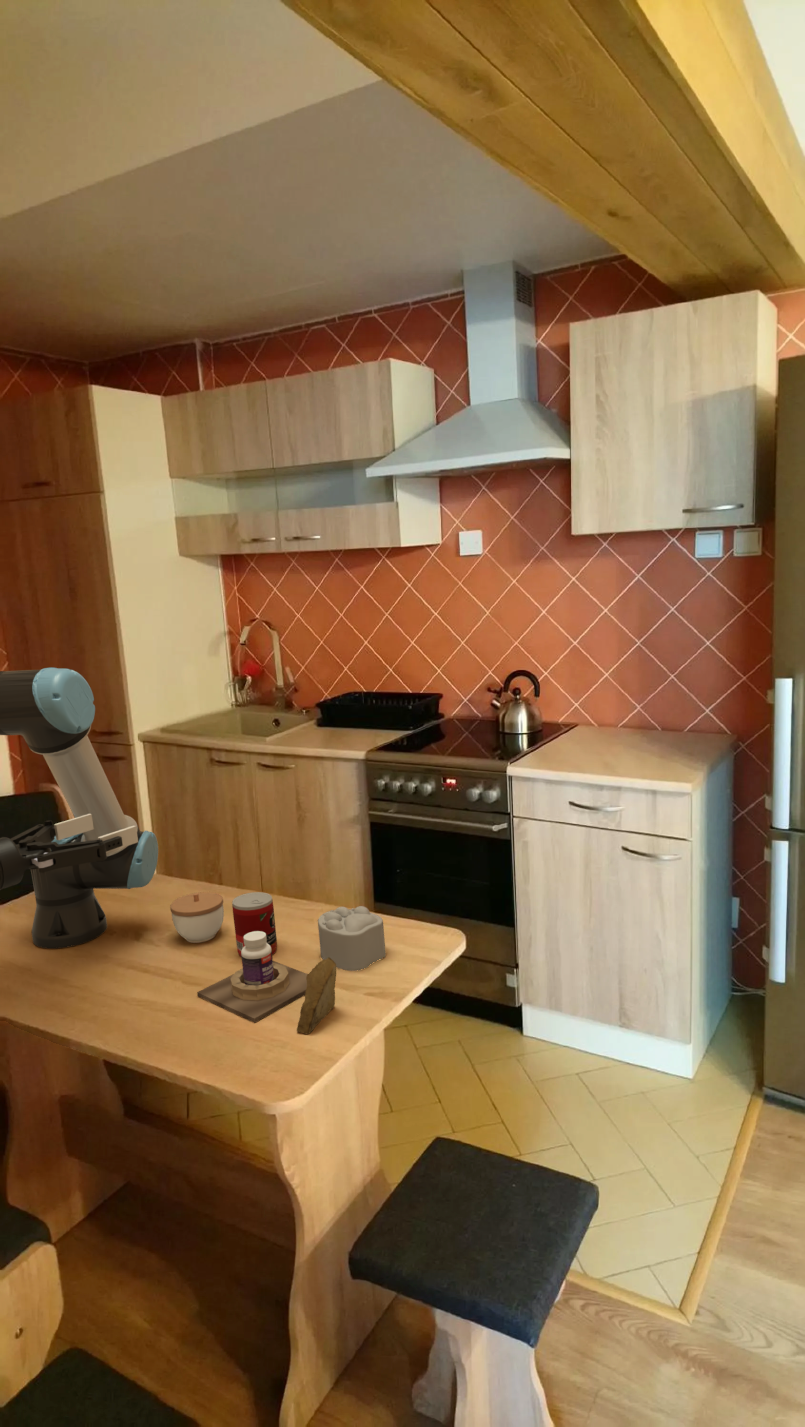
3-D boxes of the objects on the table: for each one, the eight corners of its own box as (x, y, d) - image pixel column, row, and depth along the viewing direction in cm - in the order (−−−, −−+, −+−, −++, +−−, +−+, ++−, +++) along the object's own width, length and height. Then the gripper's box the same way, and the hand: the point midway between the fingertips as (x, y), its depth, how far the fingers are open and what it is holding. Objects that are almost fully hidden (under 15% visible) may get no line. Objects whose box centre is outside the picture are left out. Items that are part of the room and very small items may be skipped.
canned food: (270, 961, 171) (264, 907, 169) (231, 960, 173) (225, 906, 171) (283, 943, 178) (278, 891, 176) (245, 942, 180) (240, 891, 178)
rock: (312, 1031, 140) (359, 998, 147) (284, 983, 142) (331, 953, 148) (288, 1046, 148) (333, 1015, 155) (262, 1001, 150) (307, 972, 156)
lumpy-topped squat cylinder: (354, 974, 163) (350, 930, 162) (307, 956, 172) (303, 914, 170) (392, 953, 171) (389, 911, 169) (346, 937, 179) (342, 896, 178)
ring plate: (197, 996, 159) (195, 981, 158) (266, 961, 171) (264, 948, 170) (254, 1022, 148) (253, 1007, 148) (323, 984, 160) (322, 969, 160)
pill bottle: (269, 993, 156) (264, 942, 155) (240, 993, 157) (234, 942, 155) (278, 979, 162) (273, 929, 160) (250, 978, 162) (245, 929, 161)
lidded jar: (209, 949, 178) (204, 905, 176) (164, 945, 181) (158, 902, 180) (236, 927, 188) (231, 885, 186) (192, 924, 191) (187, 882, 189)
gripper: (-45, 875, 142) (77, 836, 158) (32, 908, 126) (158, 861, 142) (-52, 831, 141) (71, 796, 156) (24, 858, 125) (153, 816, 140)
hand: (113, 827), depth 149 cm, fingers open, 13 cm apart
